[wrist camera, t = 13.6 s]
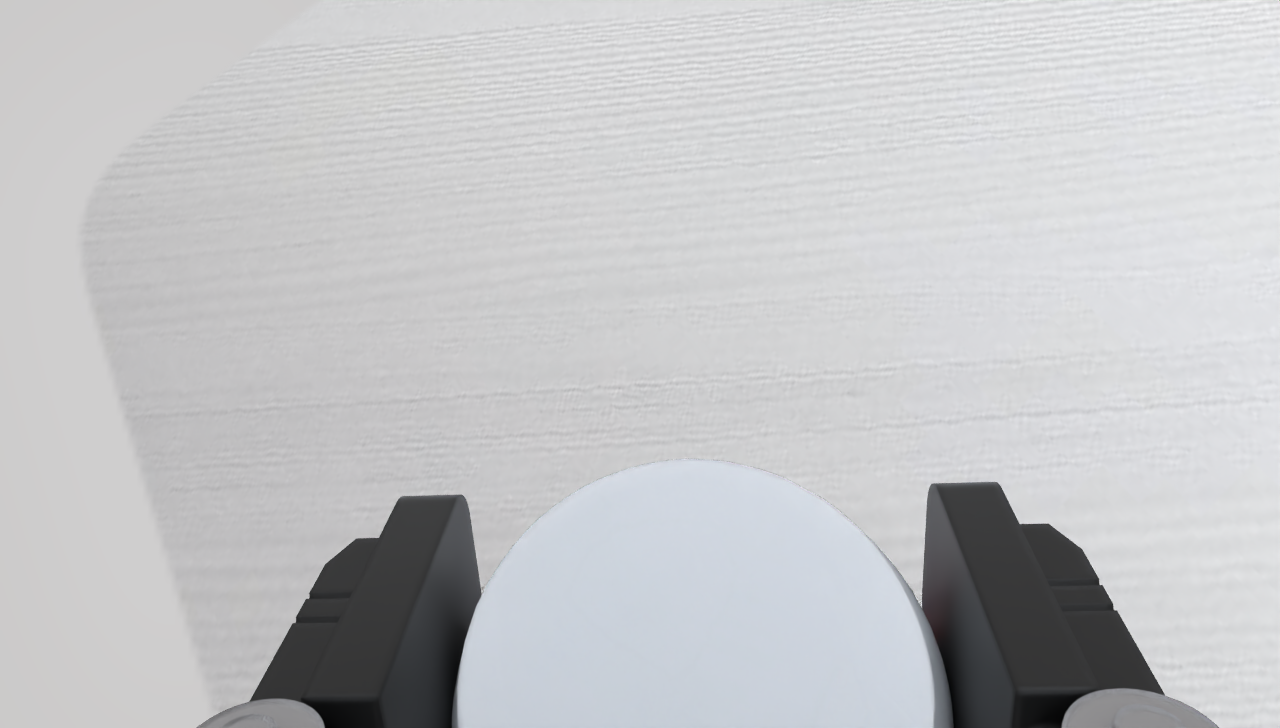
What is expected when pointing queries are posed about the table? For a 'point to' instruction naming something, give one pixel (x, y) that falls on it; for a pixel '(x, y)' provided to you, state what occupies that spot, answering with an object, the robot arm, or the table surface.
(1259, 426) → the table surface
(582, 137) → the table surface
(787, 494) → the pill bottle
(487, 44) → the table surface
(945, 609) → the robot arm
